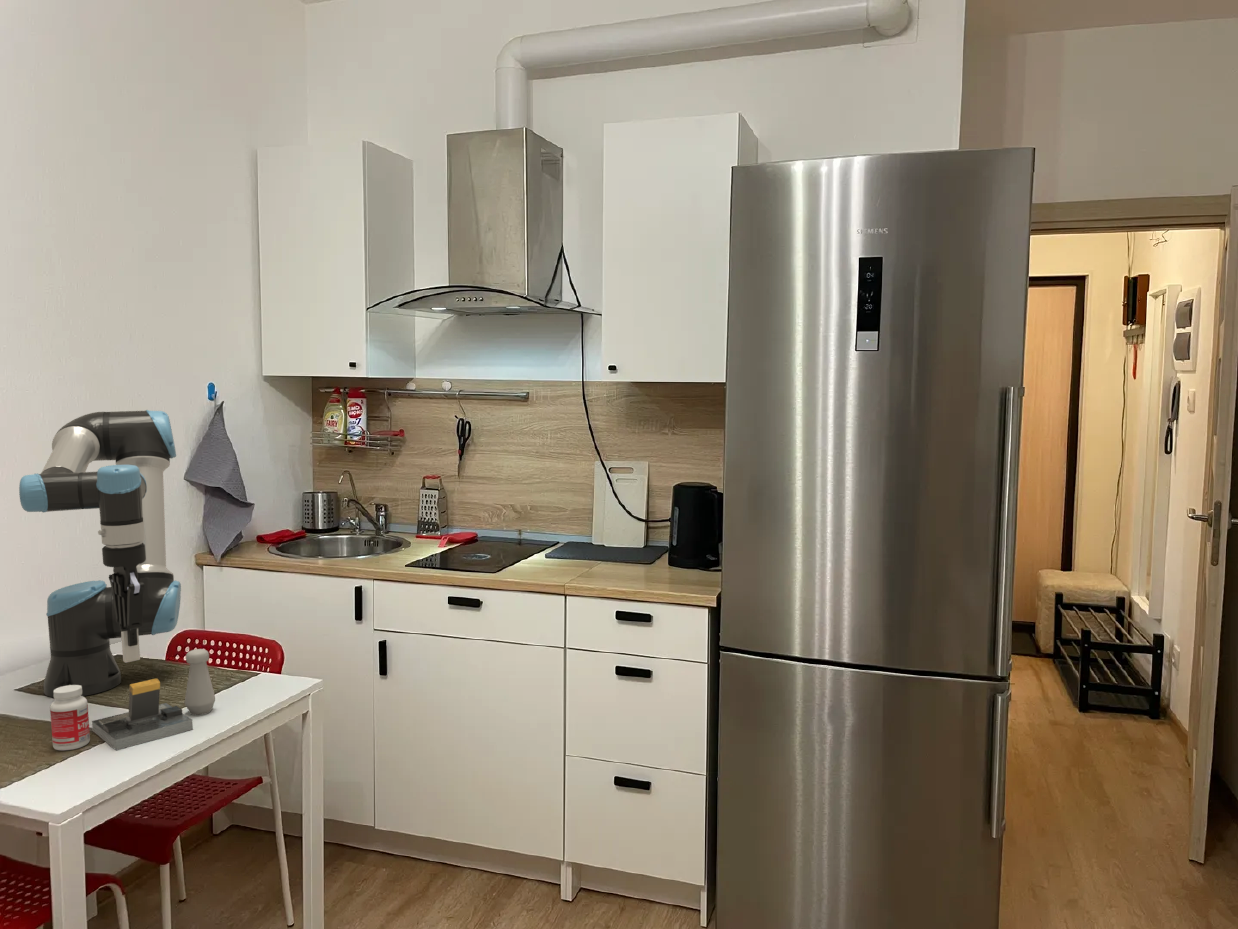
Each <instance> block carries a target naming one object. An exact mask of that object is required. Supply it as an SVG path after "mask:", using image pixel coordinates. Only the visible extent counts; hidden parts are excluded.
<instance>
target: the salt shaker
mask: <svg viewBox="0 0 1238 929" xmlns="http://www.w3.org/2000/svg"><path fill="white" fill-rule="evenodd" d="M209 659H210V654H209V651H208V650H206V648H205V649H204V648H196V649H191V650H190V651H188V652H187V653H186V654H185V661H186V663H187V664H189V669H188V677H187V678H188V679H187V683H186V684H187V685H186V688H185V689H186V690H185V698H184V706H185V707H186V709H187V710H188V712H189V714H190V716H191V715H192V716H201V715H206V714H209V713H210V712H211V711H212V710H213V707H214V704H215V701H216V695H215V691H214V687H213V684H212V680H211V676H210V672H209V668H208V664H207V662H208V660H209Z"/></svg>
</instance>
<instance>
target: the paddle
mask: <svg viewBox="0 0 1238 929" xmlns="http://www.w3.org/2000/svg"><path fill="white" fill-rule="evenodd" d="M160 690H161V682H160V680H159V679H158V677H157V678H152V679H148V680H143V681H139V682H135V683H131V684H129V692H128V693H129V695H128V696H129V697H128V712H129V716H128V717H127V718H126V722H127V724H129V723H133V722H137V721H141V720H145V719H149V718H153V717H157V716H160V715H161V712H160V710H159V704H160V695H161V694H160Z"/></svg>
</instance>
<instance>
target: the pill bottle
mask: <svg viewBox="0 0 1238 929" xmlns="http://www.w3.org/2000/svg"><path fill="white" fill-rule="evenodd" d="M53 693H54V697H53V699H54V701H53V702H51V704H50V707H49V711H50V724H51V725H50V727H51V738H52V740H51V741H52V747H53V749H54V750H55V751H72V750H77V749H80V748H82V747H84V746H87V745H88V744H89V742H90V740H91V736H90V733H91V732H90V731H91V730H90V720H89V719H90V718H89V707H88V699H87V698H86V697H85V696H81V695H82V686H80V685H68V686H62V687H59V688H56V689H55V690H54V691H53Z"/></svg>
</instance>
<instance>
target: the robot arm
mask: <svg viewBox="0 0 1238 929" xmlns="http://www.w3.org/2000/svg"><path fill="white" fill-rule="evenodd" d="M170 420H171V419H170V416H169V414H167V412H165V411H163V410H148V409H146V410H126V411H96V412H90V413H87V414H84V415H81V416H78V417H77V418H74V419H73V420H71V421H68V422H67V423H66V424H64V425H63V426H61V428H59V429H58V431H57V432H56V433H55V435H54V437H53V438H52V442H51V451H52V452H51V453H50V455H49V457H48V459H47V461H46V463H45V465H44V467H43V469H42V471H41V473H32V474H27V475H26V474H24V475H23V476H22V477H21V478H20V480H19V487H18V489H19V490H18V491H19V502H20V505H21V508H22V510H24V511H25V512H27V513H37V512H39V513H40V512H42V514H43V513H48V512H61V511H62V512H63V511H77V510H93V509H99V519H100V520H99V523H100V529H99V530H98V531H97V534H98V535H99V536H101V544H103V545H104V546H103V547H102V548H101V551H102V553H101V555H102V564H103V566H105V567H107V568H113V570H112V571H113V573H112V574H109V575H108V580H109V583H110V587H109V586H107V584H106V582H105V581H104V580H88V581H84V582H79V583H75V584H70V585H66V586H64V587H61V588H58V589H56V590H54V591H53V592H51V593H50V594H49V595H48V597H47V604H46V605H47V606H46V610H47V611H46V617H47V627H48V637H49V648H50V649H49V650H50V660H49V662H48V666H47V670H46V674H45V677H44V681H43V694H44V695H45V696H46V697H50V698H54V693H53V691H54V690H55V689H56V688H59V687H62V686H68V685H80V686H82V695H81V696H83V697H85V696H90V695H95V694H99V693H103V692H105V691H108V690H111V689H113V688H116V687H117V686H119V685H120V683H121V682H122V674H121V670H120V668H119V666H118V664H117V661H116V659H115V656H114V655H113V653H112V651H111V646H110V645H111V642H110V639H121V649H122V651H121V652H122V662H124V663H130V662H135V661H139V660H141V654H140V653H141V652H140V639H139V638H140V636H148V635H152V636H156V635H157V634H158V635H159V634H164V633H165V634H166V633H170V632H172V631H174V630H175V629H176V627H177V625H178V620H179V615H180V608H181V597H182V596H181V591H182V586H181V585H182V584H181V581H179V580H174V578H175V576H174V573H173V572H172V571H170V570H169V569H168V567H167V556H166V555H167V553H166V524H165V523H166V520H165V490H164V489H165V488H164V484H165V483H164V472H165V471H166V470H167V469H168V468H169V467H170V465H171V463H170V462H171V459H174V458H176V457H177V452H176V447H175V441H174V439H175V438H174V434H173V430H172V426H171V421H170ZM95 461H115V464H111V465H105V466H101V467H100V468H98V469H97V470H96V471H87V469H88V466H89V465H90V464H92V462H95Z"/></svg>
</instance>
